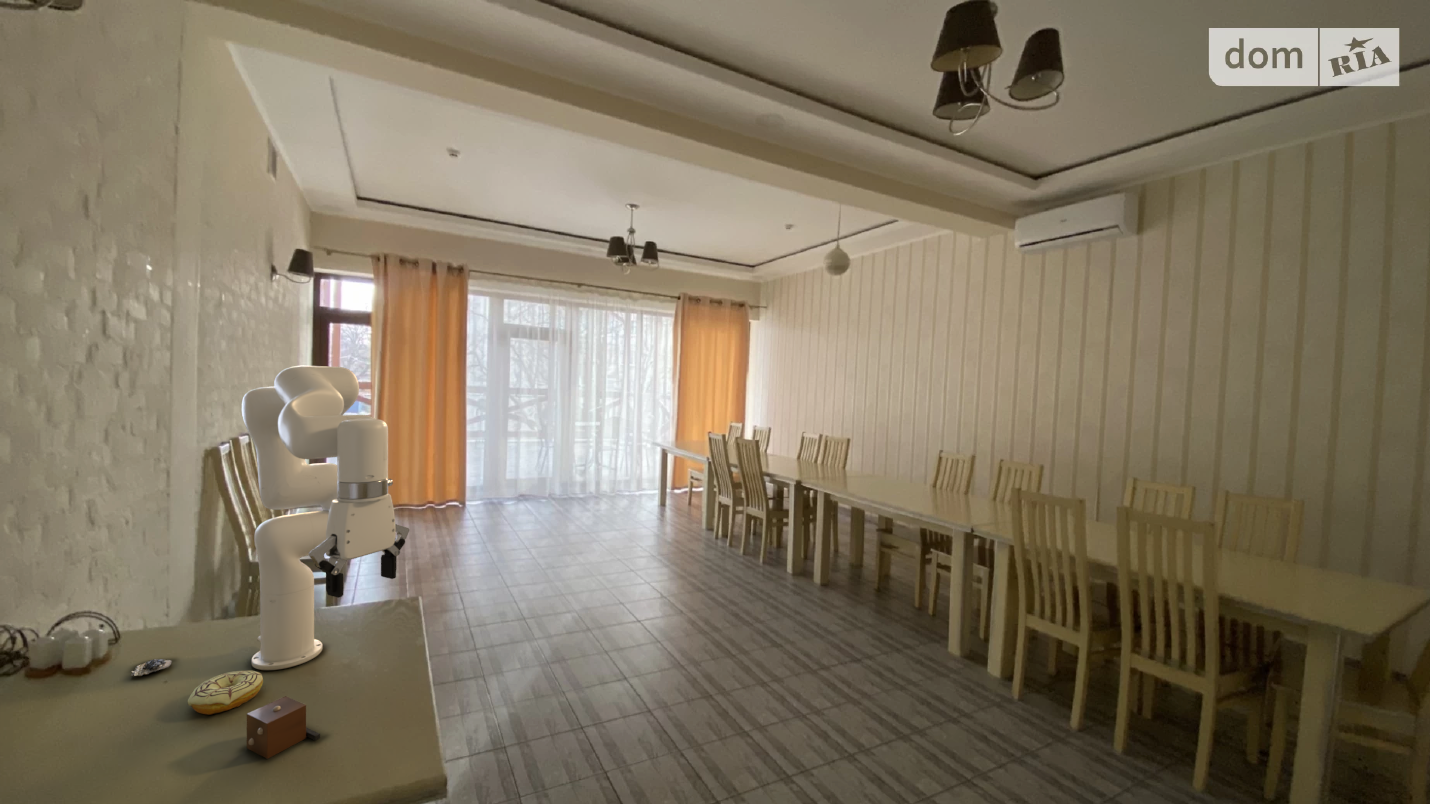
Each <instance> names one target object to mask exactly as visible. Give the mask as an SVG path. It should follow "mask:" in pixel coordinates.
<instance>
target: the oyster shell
mask: <svg viewBox="0 0 1430 804" xmlns="http://www.w3.org/2000/svg"><path fill="white" fill-rule="evenodd" d="M172 662H173V660H170V659H167V660H166V659H160V658H159V659H155V658H153V659H150V660H148V661H146V662H144V663H141V664H139V665H137V666H136V667H135V669H134V670H131V671H130V672H131V674H130V677H142V676H143V675H149V674H151V673H154V672H158V671H159V670H164V669H168V668H170V666H171V665H172Z"/></svg>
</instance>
